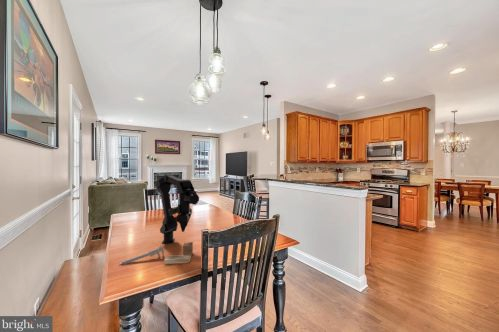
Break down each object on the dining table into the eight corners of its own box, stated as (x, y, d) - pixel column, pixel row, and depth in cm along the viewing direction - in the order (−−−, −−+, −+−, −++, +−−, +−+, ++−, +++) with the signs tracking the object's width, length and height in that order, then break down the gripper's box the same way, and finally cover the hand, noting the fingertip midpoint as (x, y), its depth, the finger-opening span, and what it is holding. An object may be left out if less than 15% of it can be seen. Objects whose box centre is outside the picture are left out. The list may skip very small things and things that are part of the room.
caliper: (163, 256, 112) (163, 244, 112) (164, 256, 111) (164, 245, 111) (119, 264, 102) (119, 252, 102) (119, 265, 101) (119, 253, 101)
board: (166, 259, 107) (166, 255, 107) (190, 258, 109) (190, 254, 109) (164, 264, 103) (164, 259, 103) (189, 262, 105) (189, 258, 105)
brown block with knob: (184, 253, 115) (184, 242, 115) (192, 252, 116) (192, 241, 116) (182, 257, 111) (182, 245, 111) (191, 256, 111) (191, 245, 111)
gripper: (173, 199, 127) (173, 224, 128) (165, 205, 109) (165, 235, 109) (192, 199, 129) (192, 224, 129) (187, 205, 110) (187, 234, 111)
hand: (184, 229), depth 119 cm, fingers open, 9 cm apart
